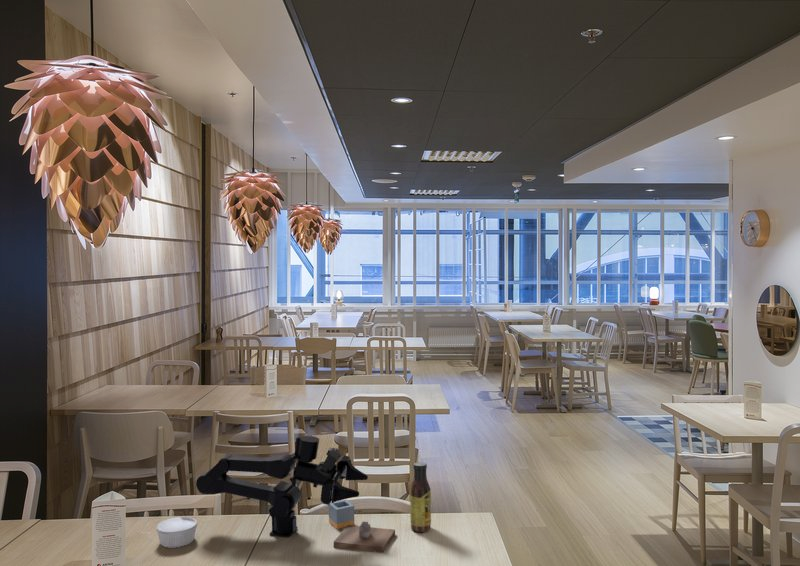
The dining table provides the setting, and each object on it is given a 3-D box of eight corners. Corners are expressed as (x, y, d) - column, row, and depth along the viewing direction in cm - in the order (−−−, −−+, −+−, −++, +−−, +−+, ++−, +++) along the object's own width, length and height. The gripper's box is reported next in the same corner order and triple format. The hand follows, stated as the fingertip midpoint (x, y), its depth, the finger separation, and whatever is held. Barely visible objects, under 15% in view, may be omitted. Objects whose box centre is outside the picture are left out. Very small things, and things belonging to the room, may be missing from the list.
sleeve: (336, 529, 194) (336, 509, 193) (328, 522, 199) (328, 503, 199) (354, 524, 197) (354, 505, 196) (346, 518, 202) (345, 499, 202)
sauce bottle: (429, 533, 189) (428, 468, 189) (408, 532, 190) (407, 467, 190) (432, 524, 196) (431, 461, 195) (412, 523, 197) (411, 460, 196)
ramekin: (205, 537, 189) (205, 519, 189) (177, 552, 179) (177, 534, 179) (177, 531, 194) (176, 514, 194) (148, 546, 184) (148, 528, 184)
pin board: (333, 547, 181) (333, 528, 181) (347, 529, 193) (347, 512, 193) (383, 552, 177) (383, 533, 177) (395, 534, 189) (394, 517, 189)
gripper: (304, 465, 179) (357, 477, 176) (326, 435, 196) (374, 446, 193) (301, 499, 181) (353, 512, 178) (323, 467, 199) (370, 478, 196)
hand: (363, 485), depth 187 cm, fingers open, 9 cm apart
